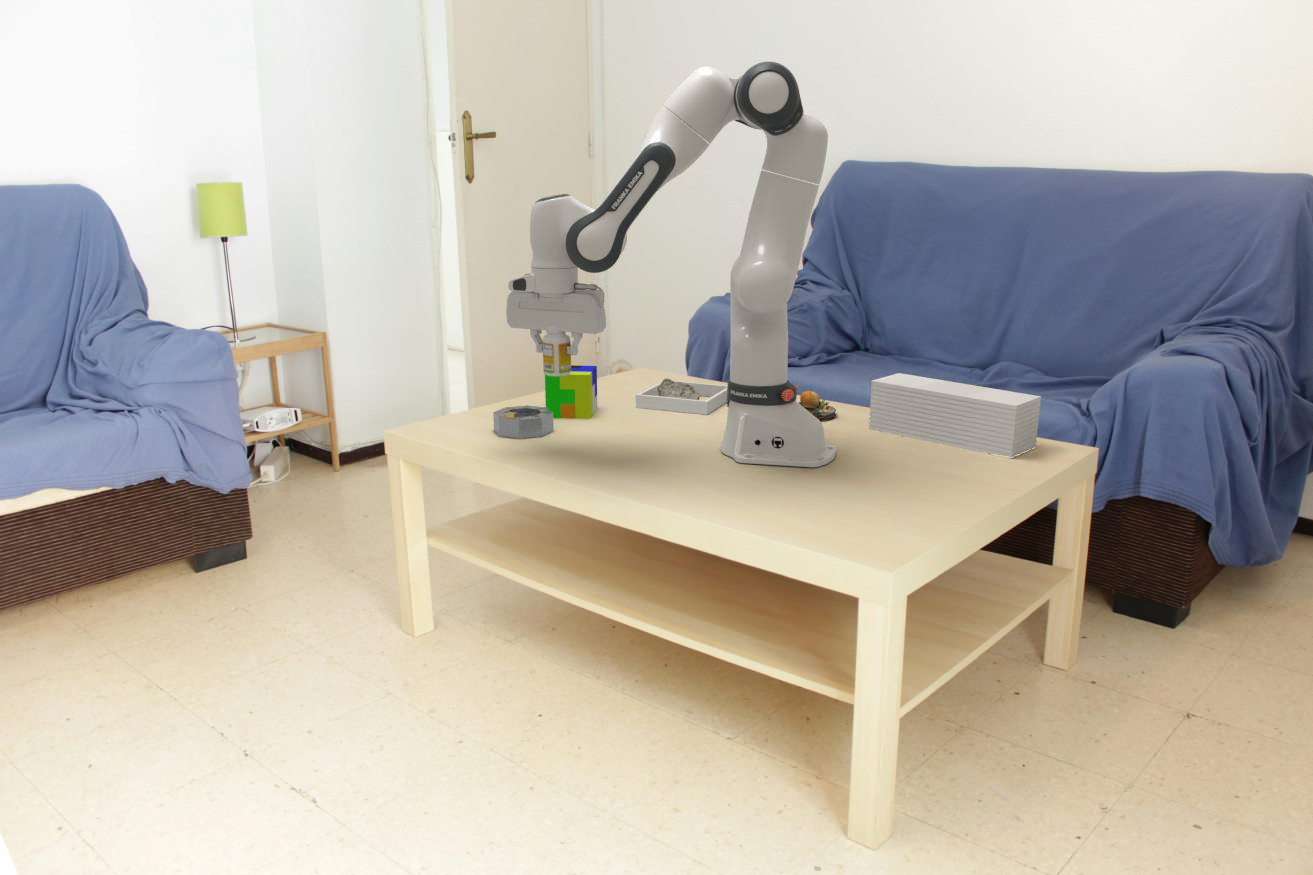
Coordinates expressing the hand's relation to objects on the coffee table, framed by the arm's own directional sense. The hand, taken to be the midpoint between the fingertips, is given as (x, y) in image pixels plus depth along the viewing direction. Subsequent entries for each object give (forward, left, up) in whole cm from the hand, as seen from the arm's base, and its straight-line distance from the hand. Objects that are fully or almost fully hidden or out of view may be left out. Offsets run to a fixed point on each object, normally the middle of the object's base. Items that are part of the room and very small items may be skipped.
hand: (556, 353), depth 195 cm
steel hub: (+13, -9, -19) cm, 25 cm away
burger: (-39, -46, -20) cm, 63 cm away
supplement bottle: (0, 0, -4) cm, 4 cm away
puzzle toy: (+11, -27, -19) cm, 35 cm away
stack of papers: (-70, -39, -20) cm, 83 cm away
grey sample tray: (-9, -46, -19) cm, 50 cm away
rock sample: (-9, -42, -20) cm, 47 cm away
